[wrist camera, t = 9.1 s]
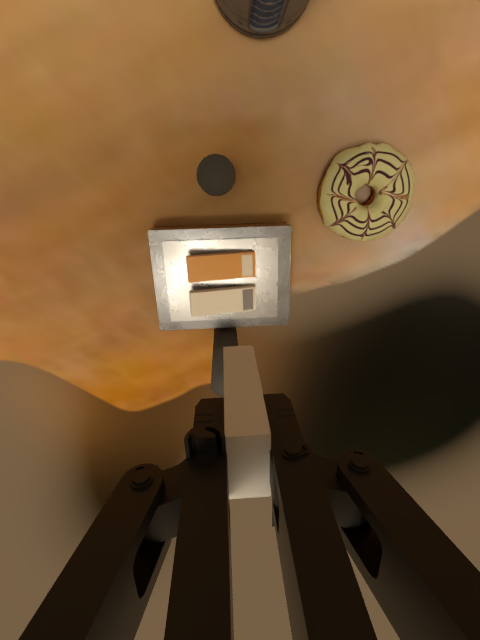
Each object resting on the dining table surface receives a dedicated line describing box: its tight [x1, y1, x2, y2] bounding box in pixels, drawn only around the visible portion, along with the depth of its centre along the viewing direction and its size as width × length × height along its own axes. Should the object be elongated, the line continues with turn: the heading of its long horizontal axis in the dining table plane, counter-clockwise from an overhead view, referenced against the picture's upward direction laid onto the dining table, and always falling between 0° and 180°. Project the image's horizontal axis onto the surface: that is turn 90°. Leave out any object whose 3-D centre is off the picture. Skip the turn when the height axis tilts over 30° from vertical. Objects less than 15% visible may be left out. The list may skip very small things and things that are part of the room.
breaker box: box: [148, 222, 291, 330], centre depth 41 cm, size 16×12×5 cm
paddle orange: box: [186, 251, 256, 283], centre depth 37 cm, size 8×3×1 cm, turn 92°
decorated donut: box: [317, 142, 415, 241], centre depth 39 cm, size 10×11×4 cm
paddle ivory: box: [189, 285, 256, 317], centre depth 38 cm, size 8×3×1 cm, turn 92°
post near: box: [197, 154, 235, 196], centre depth 32 cm, size 3×3×14 cm
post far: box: [211, 327, 238, 398], centre depth 39 cm, size 3×3×14 cm
